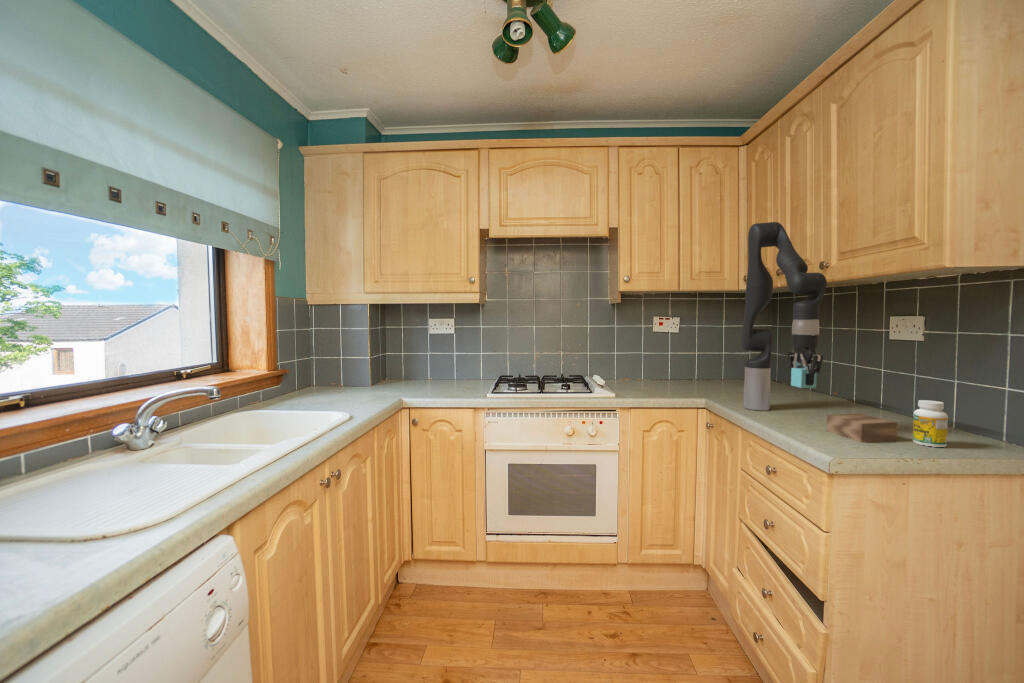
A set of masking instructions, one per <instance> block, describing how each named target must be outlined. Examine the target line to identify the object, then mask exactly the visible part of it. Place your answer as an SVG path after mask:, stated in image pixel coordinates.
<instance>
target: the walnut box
mask: <svg viewBox="0 0 1024 683" xmlns="http://www.w3.org/2000/svg"><path fill="white" fill-rule="evenodd" d="M826 416H827V419H826V432H827V431H828V432H831V433H834V434H833V435H835V434H837V435H836V436H838V435H840V436H839V437H841V436H843V437H842V438H844V437H846V438H845V439H847V438H849V439H848V440H850V439H852V440H851V441H854V440H855V442H857V441H858V443H860V442H868V443H880V442H879V441H888V442H897V430H898V429H897V427H898V423H897V422H896V421H893V420H888V419H884V418H880V417H879V418H878V417H875V416H871V415H867V414H863V413H846V414H843V413H842V414H840V413H839V414H827V415H826ZM828 432H827V433H828ZM831 433H830V434H831Z"/></svg>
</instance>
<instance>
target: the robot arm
mask: <svg viewBox="0 0 1024 683" xmlns="http://www.w3.org/2000/svg"><path fill="white" fill-rule="evenodd" d="M747 234H748V235H747V261H748V262H747V275H746V276H747V277H746V284H745V285H746V286H745V299H744V300H745V306H744V315H743V316H744V318H743V324H742V330H741V341H740V342H741V348H742V350H743V351H746V352H747V351H748V352H749V351H751V352H760V353H759V355H757V356H754V357H751V358H748V359H746V360H745V362H744V384H743V408H744V409H748V410H750V411H751V410H752V411H769V410H770V408H771V407H770V406H771V405H770V404H771V402H770V401H771V368H772V367H771V364H772V350H773V337H774V336H773V333H772V330H771V329H770V328H753V327H754V326H755V325H754V324H755V321H756V320H757V318H758V317H759V315H760V314H761V313H762V311H763V310H764V309H765V308H766V307H767V305H769V303H770V302H771V300H772V297H773V292H774V291H773V290H774V289H773V288H774V280H773V277H772V275H771V273H770V272H769V270H768V268H767V267H766V266H765V263H764V262H763V259H762V258H763V257H762V248H772V247H775V248H777V250H778V252H777V254H776V258H775V259H776V260H775V261H776V265H777V267H778V269H779V270H780V271H781V272H782V274H783V275H784V277H785V281H786V286H787V289H788V291H790V292H791V293H793V294H794V295H807V296H806V298H805V299H804V300H801V301H798V302H795V303H794V305H793V307H792V308H793V310H792V312H793V313H792V324H791V325H792V326H791V339H790V340H791V341H790V342H791V344H790V346H791V347H792V348H794V349H793V351H787V360H788V367H789V369H791V368H805V370H806V385H813V384H814V374H815V373H817V374H819V373H820V372H821V369H822V366H823V365H822V364H823V360H824V356H823V354H817V352H816V349H817V348H819V347H820V307H821V306H820V305H821V303H822V300H823V296H824V294H825V292H826V290H827V285H828V284H827V283H828V282H827V278H826V276H825V274H823V273H822V272H808V269H809V266H808V265H807V262H806V261H805V260H804V259H803V258H802V257H801V255H800V254H799V253H798V252H797V251H796V249H795V247H794V246H793V243H792V241H791V239H790V237H789V235H788V233H787V231H786V229H785V227H784V226H783V225H782V224H781V223H780V222H778V221H771V222H759V223H754V224H751V226H750V227H749V230H748V233H747ZM809 368H810V370H809Z"/></svg>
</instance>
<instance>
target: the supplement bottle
mask: <svg viewBox="0 0 1024 683" xmlns="http://www.w3.org/2000/svg"><path fill="white" fill-rule="evenodd" d="M944 403H945V402H943V401H938V400H927V399H919V400H918V402H917V406H918V407H919V408H917V409H915V410H914V411H913V425H912V427H913V428H912V441H913V443H914V444H916V445H918V444H919V446H922V445H925V446H924V447H928V446H932V447H931V448H935V447H944V448H946V447H947V445H948V444H947V443H948V425H949V415H948V413H946V412H944V411H943V410H944V408H945V404H944Z"/></svg>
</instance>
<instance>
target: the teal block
mask: <svg viewBox="0 0 1024 683" xmlns="http://www.w3.org/2000/svg"><path fill="white" fill-rule="evenodd" d="M810 368H811V367H809V370H810ZM790 372H791V373H790V378H791V379H790V386H792V387H794V388H795V387H796V388H801V389H816V388H817V375H818V373H815V374H814V384H813V385H806V370H805V367H803V368H791V371H790Z"/></svg>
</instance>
